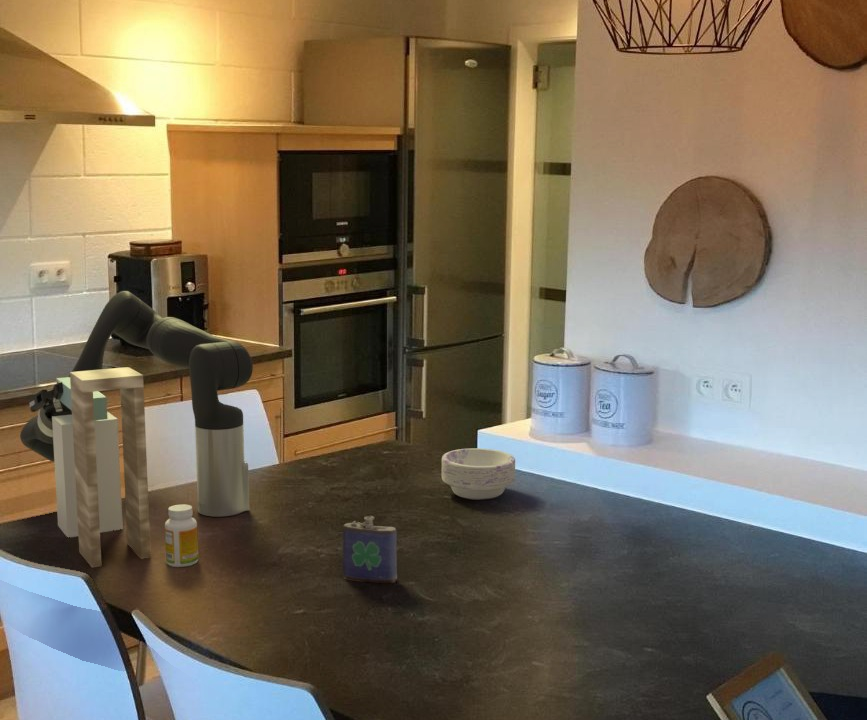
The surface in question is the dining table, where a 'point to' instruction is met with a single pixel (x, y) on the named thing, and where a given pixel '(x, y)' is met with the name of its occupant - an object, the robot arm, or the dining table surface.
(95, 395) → the pale green long bar
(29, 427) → the robot arm
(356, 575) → the flask
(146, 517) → the bridge
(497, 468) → the paper bowls
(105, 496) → the light grey tall block
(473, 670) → the dining table surface
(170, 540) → the supplement bottle
